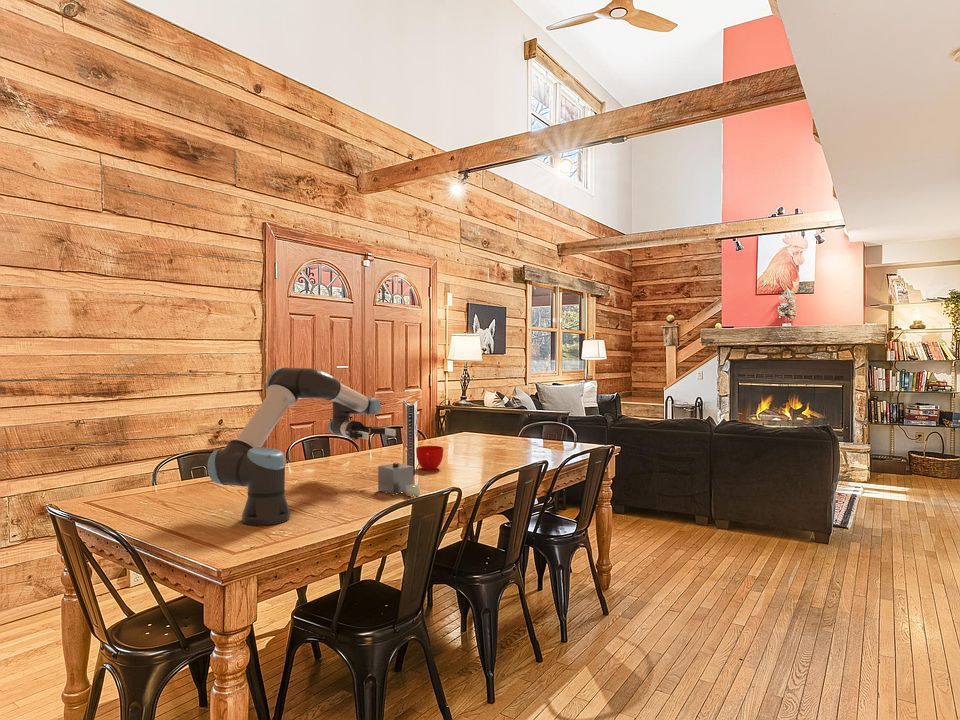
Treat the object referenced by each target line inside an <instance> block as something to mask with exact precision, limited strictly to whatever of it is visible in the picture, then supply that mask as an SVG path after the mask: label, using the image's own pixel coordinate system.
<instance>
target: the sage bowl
mask: <svg viewBox="0 0 960 720" xmlns="http://www.w3.org/2000/svg"><path fill="white" fill-rule="evenodd" d="M413 495H414V496H418V497H419V495H421V485H420V484H413V485H406V493H405V496H407V497H408V496H413Z"/></svg>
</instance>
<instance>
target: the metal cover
mask: <svg viewBox="0 0 960 720" xmlns="http://www.w3.org/2000/svg"><path fill="white" fill-rule="evenodd" d="M377 469H378V471H377V475H378V476H377V482H378V483H377V484H378V485H377V489H378V490H379V491H378V490H377V491H378V492H380V491H383V492H382V493H384V492H387V493H391V494H396V493H401V492H406V485H414V466H413V465H409V464H404V463H400V462H393V463H390V464H384V465H378V466H377ZM387 493H386V494H387Z"/></svg>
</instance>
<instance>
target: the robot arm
mask: <svg viewBox="0 0 960 720" xmlns="http://www.w3.org/2000/svg"><path fill="white" fill-rule="evenodd" d="M266 381H267V382H266V383H265V386H266V387H265V388H266V397H265V399H263V401H262V403H261V404H260V405H259V407H258V408H257V410H256V411H255V412H254V413H253V415H252V417H251V418H250V419H249V421H248V422H247V423H246V425H245V426H244V428H243V429H242V431H241V432H239V433H240V434H239V435H238V436H237V437H236V438H235V439H231V440H229V442H228V443H226V446H225V447H223V449H222V448H219V449H215V450H213V451H212V453H211V454H210V455H209V457H208V461H207V474H208V477H209V478H210V480H211V481H212V482H213V483H215V484H218V485H223V486H237V487H246V488H247V499H246V501H245V502H246V503H245V505H244V508H243V511H242V514H241V522H242V524H244V523H245V524H244V525H247V524H248V526H256V525H262V526H270V525H271V524H273V525H278V524H281V522H282V523H285V522H287V521H289V520H290V519H291V510H290V506H289V504H288V501H287V498H286V494H285V493H286V491H285V490H286V487H285V486H286V485H285V484H286V482H285V481H286V477H285V476H286V459H285V454H284V452H283V451H281V450H280V449H276V448H273V447H263V445H264V444H265V442H266V440H267V439H268V438H269V436H270V434H271V433H272V431H273V430H274V428H275V427H276V425H277V424H278V422H279V421H280V420H281V417H282V416H283V415H284V413H285V412H286V411H287V409H288V408H292V407H294V405H295V404H296V403H297V401H298V400H299V399H321V400H325V401H332V418H331V419H330V420H329V423H328V424H327V429H328V430H329V432H330V433H331V434H332V435H335V436H340V437H345V438H348V439H354V440H359V439H362V440H366V441H367V440H369V439H370V437H369V436H372V435H386V436H391V437H396V435H397V434H396V433H397V429H393V428H391V427H389V426H385V427H383V426H382V427H381V426H373V425H372V426H367V425H364V423H362V422H361V421H357V420H352V419H350V416H351V415H365V416H366V415H368V416H375V415H378V414H379V412H380V410H381V401H380V400H379V399H378V398H377V397H368V396H366V395H364V394H362V393H361V392H359V391H357V390H355V389H353V388H350V387H348V386H346V385H344V384H343V383H341V382H340V380H339V378H337V377H335V376H333V375H331V374H329V373H327V372H324V371H321V370H319V369H316V368H310V367H309V368H308V367H307V368H306V367H305V368H304V367H301V368H300V367H285V366H284V367H278V368H275V369H273V370H272V371H271V372H270V373H269V375H268V376H267V378H266ZM289 518H290V519H289ZM288 519H289V520H288ZM286 520H287V521H286ZM284 521H285V522H284ZM277 523H278V524H277ZM271 526H272V525H271Z"/></svg>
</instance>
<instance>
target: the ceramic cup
mask: <svg viewBox="0 0 960 720" xmlns="http://www.w3.org/2000/svg"><path fill="white" fill-rule="evenodd" d="M415 451H416V458H417V462H418V465H419V466H420V467H421V468H422V470H425V471H434V470H436V469H438V467H439V466H440V465H441V463H442V462H443V461H442V460H443V456H444V447H443V446H441V445H440V446H439V445H420V446H417V447H416V450H415Z"/></svg>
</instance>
